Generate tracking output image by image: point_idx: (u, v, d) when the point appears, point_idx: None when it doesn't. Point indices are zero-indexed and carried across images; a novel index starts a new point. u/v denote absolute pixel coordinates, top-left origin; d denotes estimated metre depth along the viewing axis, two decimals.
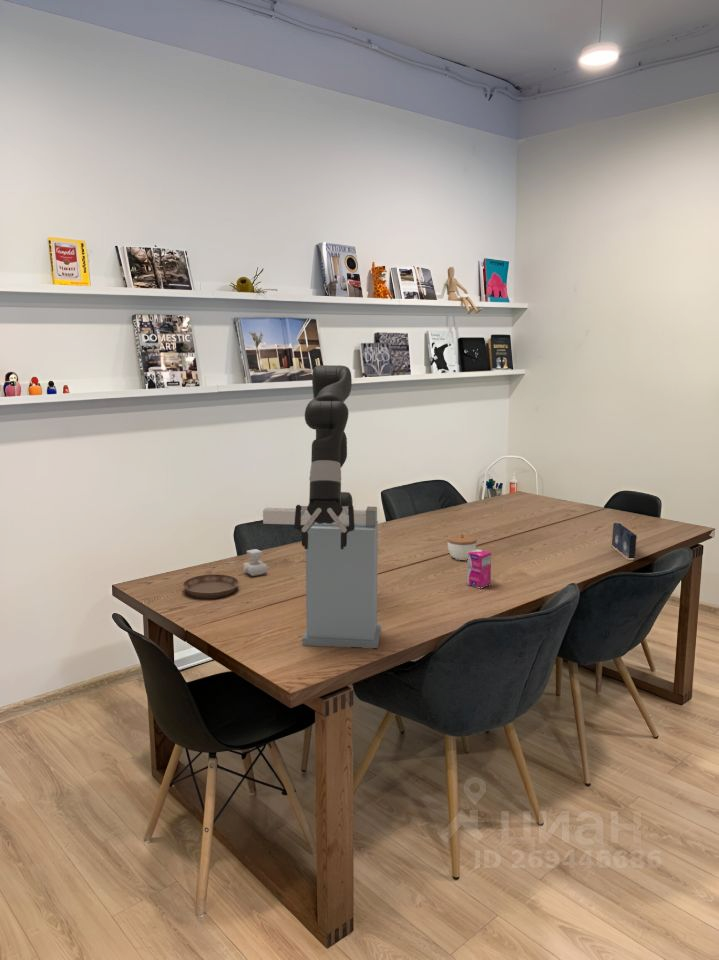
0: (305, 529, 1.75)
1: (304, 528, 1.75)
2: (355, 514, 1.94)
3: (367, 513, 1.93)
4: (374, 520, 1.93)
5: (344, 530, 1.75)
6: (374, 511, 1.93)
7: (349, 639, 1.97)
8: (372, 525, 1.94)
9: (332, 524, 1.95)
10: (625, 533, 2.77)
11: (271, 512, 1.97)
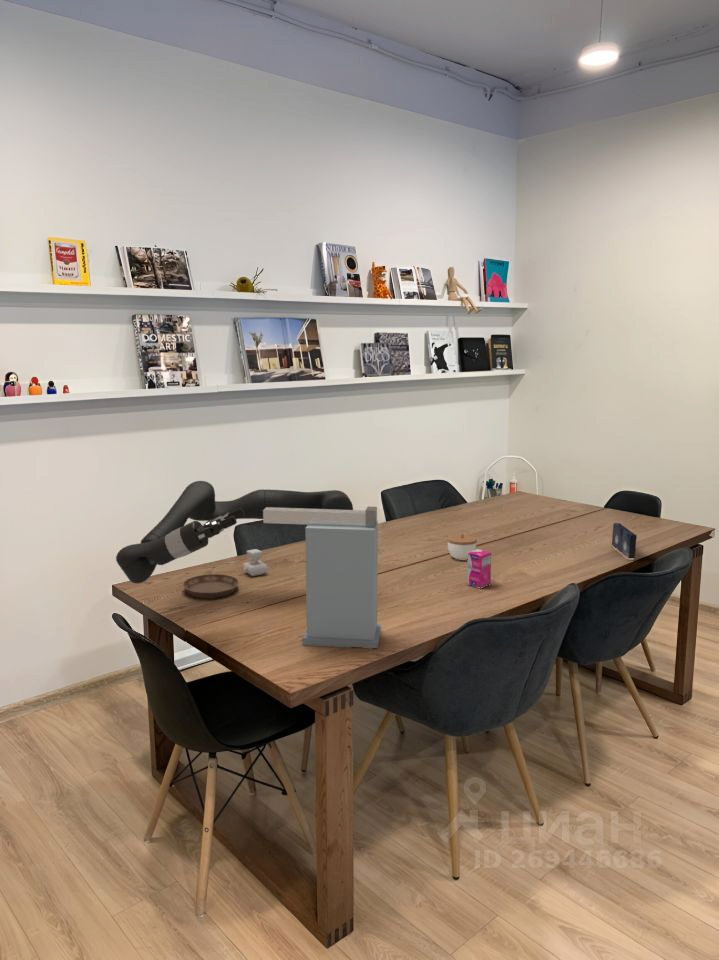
0: None
1: None
2: (355, 514, 1.94)
3: (367, 513, 1.93)
4: (374, 520, 1.93)
5: (222, 530, 1.93)
6: (374, 511, 1.93)
7: (349, 639, 1.97)
8: (371, 525, 1.94)
9: (332, 524, 1.95)
10: (625, 533, 2.77)
11: (271, 511, 1.97)
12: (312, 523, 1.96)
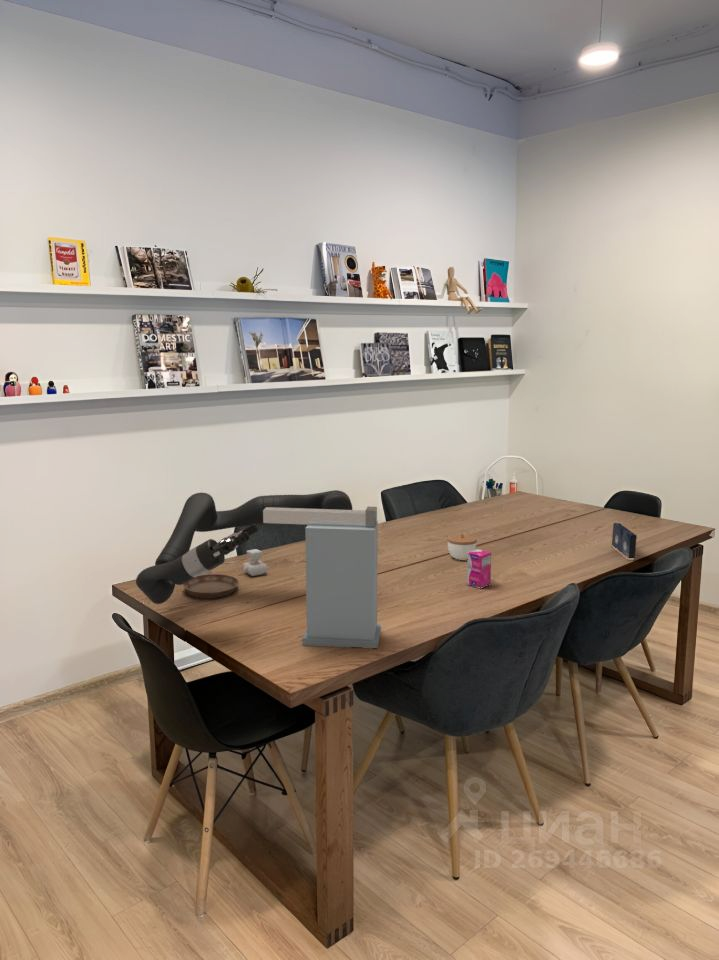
0: None
1: None
2: (355, 514, 1.94)
3: (367, 513, 1.93)
4: (374, 520, 1.93)
5: (236, 547, 1.96)
6: (374, 511, 1.93)
7: (349, 639, 1.97)
8: (371, 525, 1.94)
9: (332, 524, 1.95)
10: (625, 533, 2.77)
11: (271, 511, 1.97)
12: (312, 523, 1.96)
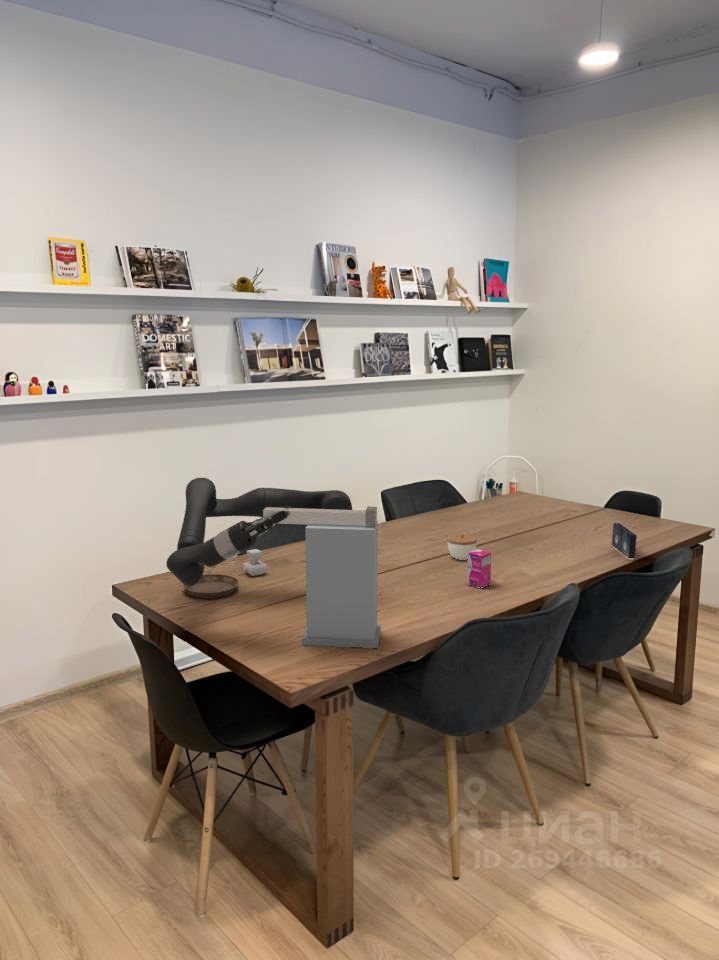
0: None
1: None
2: (355, 514, 1.94)
3: (367, 513, 1.93)
4: (374, 520, 1.93)
5: (274, 525, 1.96)
6: (374, 511, 1.93)
7: (349, 639, 1.97)
8: (371, 525, 1.94)
9: (332, 524, 1.95)
10: (625, 533, 2.77)
11: (271, 511, 1.97)
12: (312, 523, 1.96)
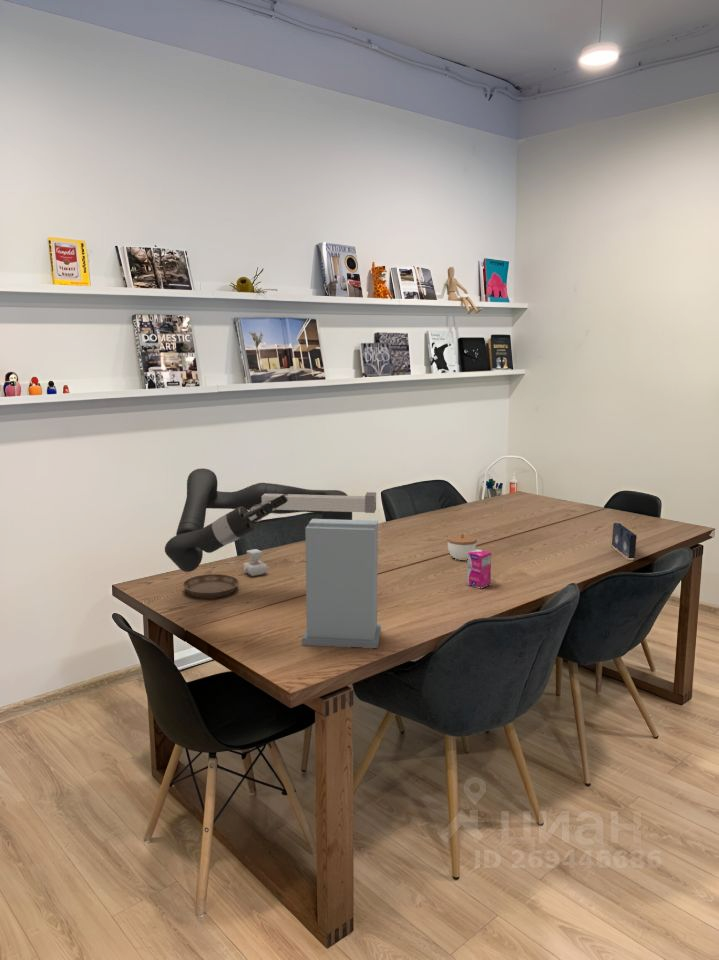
0: None
1: None
2: (354, 500, 1.93)
3: (366, 498, 1.92)
4: (373, 506, 1.93)
5: (273, 510, 1.95)
6: (373, 496, 1.92)
7: (349, 639, 1.97)
8: (371, 510, 1.93)
9: (331, 510, 1.95)
10: (625, 533, 2.77)
11: (270, 498, 1.96)
12: (311, 509, 1.95)
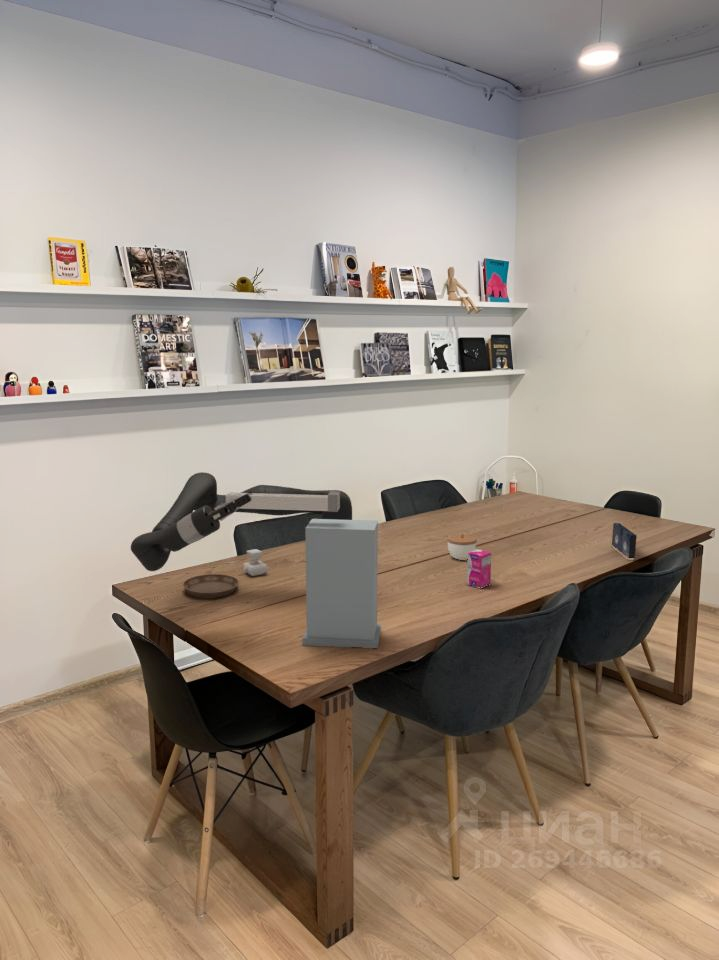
0: None
1: None
2: (317, 498, 1.94)
3: (329, 497, 1.93)
4: (336, 504, 1.94)
5: (237, 508, 1.97)
6: (336, 495, 1.93)
7: (349, 639, 1.97)
8: (334, 509, 1.94)
9: (294, 508, 1.96)
10: (625, 533, 2.77)
11: (234, 497, 1.97)
12: (275, 508, 1.96)
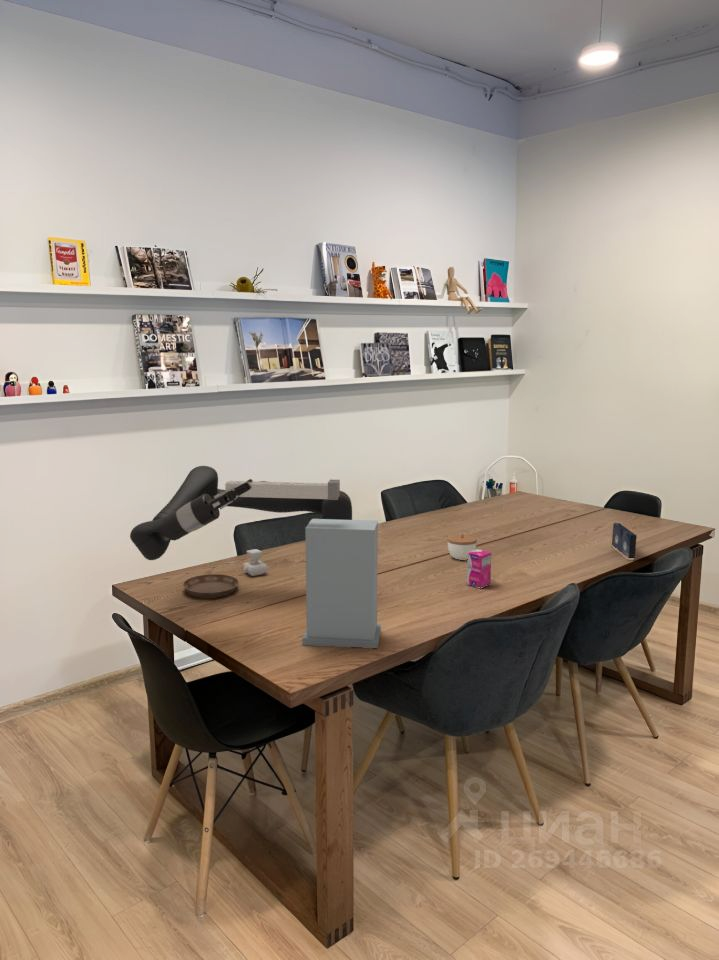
0: None
1: None
2: (317, 487, 1.94)
3: (329, 485, 1.93)
4: (336, 492, 1.93)
5: (237, 497, 1.96)
6: (336, 483, 1.93)
7: (349, 639, 1.97)
8: (334, 497, 1.93)
9: (294, 497, 1.95)
10: (625, 533, 2.77)
11: (233, 485, 1.96)
12: (274, 496, 1.96)
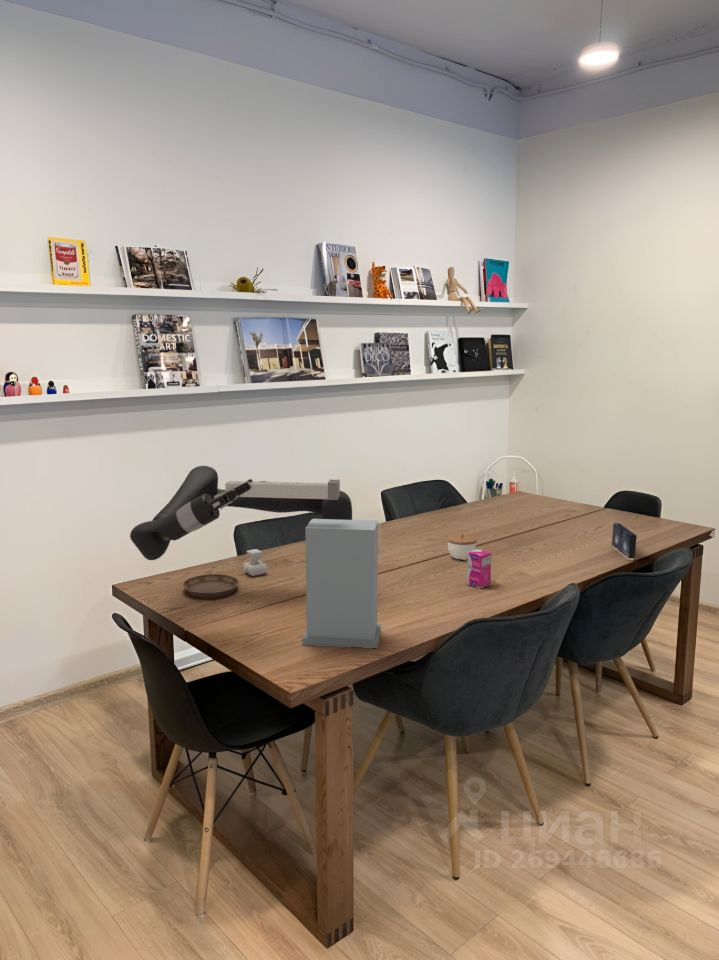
0: None
1: None
2: (317, 487, 1.94)
3: (329, 485, 1.93)
4: (336, 492, 1.93)
5: (237, 497, 1.96)
6: (336, 483, 1.93)
7: (349, 639, 1.97)
8: (334, 497, 1.93)
9: (294, 497, 1.95)
10: (625, 533, 2.77)
11: (233, 485, 1.96)
12: (274, 496, 1.96)
